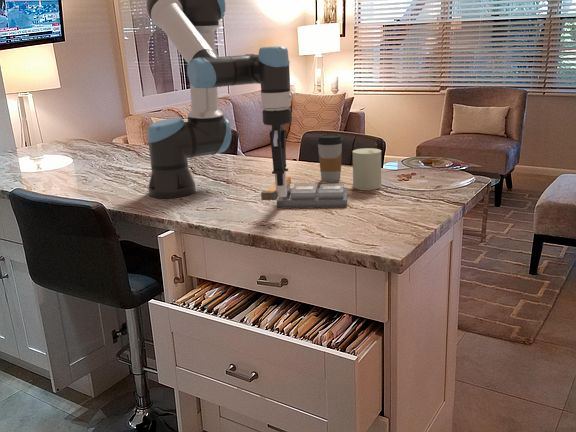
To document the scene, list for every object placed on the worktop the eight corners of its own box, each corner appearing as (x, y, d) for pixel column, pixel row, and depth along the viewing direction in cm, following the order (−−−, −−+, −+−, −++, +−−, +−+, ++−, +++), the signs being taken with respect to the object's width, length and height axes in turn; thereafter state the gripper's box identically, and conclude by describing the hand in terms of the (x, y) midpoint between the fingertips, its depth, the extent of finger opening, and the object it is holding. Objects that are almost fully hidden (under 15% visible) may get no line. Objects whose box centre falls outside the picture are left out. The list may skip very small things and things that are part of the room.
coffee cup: (341, 183, 194) (340, 138, 190) (316, 183, 196) (315, 138, 191) (344, 177, 202) (343, 133, 198) (320, 177, 204) (319, 134, 199)
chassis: (277, 207, 170) (276, 190, 169) (283, 194, 184) (282, 178, 182) (346, 206, 168) (346, 189, 166) (347, 194, 181) (347, 177, 180)
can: (363, 191, 183) (363, 153, 179) (347, 185, 191) (346, 149, 187) (387, 187, 187) (387, 149, 183) (370, 181, 195) (370, 145, 191)
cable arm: (280, 181, 177) (280, 175, 176) (293, 182, 176) (293, 175, 175) (261, 199, 159) (261, 192, 158) (275, 200, 158) (275, 193, 157)
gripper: (288, 111, 146) (292, 202, 153) (293, 104, 159) (297, 189, 166) (258, 112, 147) (264, 203, 154) (266, 105, 160) (271, 190, 167)
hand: (281, 196), depth 160 cm, fingers closed
